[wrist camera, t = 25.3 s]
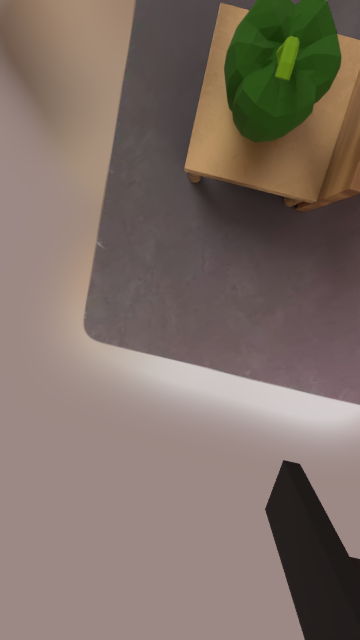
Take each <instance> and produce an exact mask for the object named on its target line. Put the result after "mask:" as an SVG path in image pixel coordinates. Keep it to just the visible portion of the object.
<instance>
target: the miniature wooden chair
mask: <svg viewBox="0 0 360 640" xmlns="http://www.w3.org/2000/svg"><path fill="white" fill-rule="evenodd" d="M248 12H249V10H246V9H242V8H239V7H235V6H231V5H227V4H224V3H220V8H219V12H218V17H217V21H216V26H215V31H214V35H213V40H212V44H211V49H210V53H209V58H208V63H207V67H206V72H205V76H204V81H203V85H202V90H201V95H200V99H199V104H198V108H197V113H196V117H195V122H194V127H193V131H192V136H191V140H190V145H189V150H188V154H187V159H186V163H185V172H188V178H189V180H190V181H191V182H193V183H197V182H198V181H200V179H201V176H204V177H208V178H212V179H216V180H220V181H224V182H228V183H232V184H236V185H240V186H244V187H248V188H252V189H256V190H260V191H264V192H268V193H272V194H276V195H280V196H284V203H285V205H286V206H289V207H291V206H294V205H296V204H297V207H296V210H297V211H301V212H307V211H310V210H313V209H316V208H319V207H322V206H325V205H328V204H331V203H334V202H336V201H339V200H342V199H345V198H348V197H351V196H354V195H357V194H360V40H357V39H353V38H349V37H346V36H342V35H338V34H337V36H338V41H339V46H340V51H341V56H342V58H341V66H340V69H339V71H338V73H337V75H336V77H335V79H334V81H333V84H332V86H331V88H330V89H329V91H328V92H327V93H326V94H325V95H324V96H323V97H322V98H321V99H320V100H319V101H318V102H317V103H315V104H314V107H313V112H312V114H311V115H310V116H309V117H308V118H307V119H306V120H305V121H304V122H303V123H302V124H300V125H299V126H297V127H296V128H295V129H293V130H292V131H290V132H289V133H288V134H286V135H285V136H283V137H281V138H279V139H276V140H273V141H268V142H257V143H255V142H253V141H251V140H249V139H247V138H245V137H244V136H242V135H241V134H240V132H239V131H238V129H237V127H236V126H235V124H234V122H233V115H232V111H231V110H230V109H229V106H228V101H227V94H226V84H225V74H224V65H225V59H226V54H227V50H228V48H229V45H230V43H231V40H232V38H233V35H234V33H235V30H236V28H237V26H238V25H239V24H240V22H241V21H242V20H243V18H244V17H245V16H246V14H247V13H248Z"/></svg>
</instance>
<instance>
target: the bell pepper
mask: <svg viewBox="0 0 360 640" xmlns="http://www.w3.org/2000/svg"><path fill="white" fill-rule="evenodd" d="M341 58H342V56H341V51H340V46H339V41H338V36H337V31H336V28H335V25H334V21H333V18H332V15H331V11H330V8H329V5H328V2H327V1H325V0H301V1H300V2H299V3H298V4H296V5H294V4H293V3H292V1H291V0H257V1H256V3H255V4H254V5H253V7H252V8H251V9H250V10H249V12H248V13H247V14H246V16H245V17H244V18H243V20H242V21H241V22H240V24H239V25H238V26H237V28H236V30H235V33H234V35H233V38H232V40H231V43H230V45H229V48H228V50H227V54H226V59H225V65H224V74H225V84H226V94H227V101H228V106H229V109H230V110H231V111H232V115H233V122H234V124H235V126H236V127H237V129H238V131H239V132H240V134H241V135H242V136H244V137H245V138H247V139H249V140H251V141H253V142H255V143H257V142H268V141H273V140H276V139H279V138H281V137H283V136H285V135H286V134H288V133H289V132H290V131H292V130H293V129H295V128H296V127H297V126H299V125H300V124H302V123H303V122H304V121H305V120H306V119H307V118H308V117H309V116H310V115H311V114H312V112H313V107H314V104H315V103H317V102H318V101H319V100H320V99H321V98H322V97H323V96H324V95H325V94H326V93H327V92H328V91H329V89H330V88H331V86H332V84H333V81H334V79H335V77H336V75H337V73H338V71H339V69H340V66H341Z"/></svg>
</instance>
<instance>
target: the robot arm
mask: <svg viewBox="0 0 360 640" xmlns="http://www.w3.org/2000/svg"><path fill="white" fill-rule="evenodd" d="M265 510H266V514H267V517H268V520H269V523H270V527H271V530H272V533H273V536H274V540H275V543H276V546H277V550H278V553H279V556H280V559H281V563H282V566H283V569H284V572H285V576H286V579H287V582H288V585H289V589H290V592H291V596H292V599H293V602H294V605H295V609H296V612H297V615H298V619H299V622H300V625H301V628H302V631H303V635H304V638H305V640H360V559H357V558H352V557H349V555H348V553H347V551H346V549H345V547H344V546H343V544H342V542H341V540H340V538H339V536H338V534H337V532H336V531H335V529H334V527H333V525H332V523H331V521H330V519H329V517H328V516H327V514H326V512H325V510H324V508H323V506H322V504H321V502H320V501H319V499H318V497H317V495H316V493H315V491H314V489H313V488H312V486H311V484H310V482H309V480H308V478H307V476H306V474H305V473H304V471H303V469H302V467H301V465H300V464H298V463H294V462H289V461H285V460H284V461H283V463H282V466H281V468H280V471H279V474H278V476H277V479H276V482H275V484H274V487H273V490H272V492H271V495H270V498H269V500H268V503H267V506H266V508H265Z"/></svg>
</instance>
